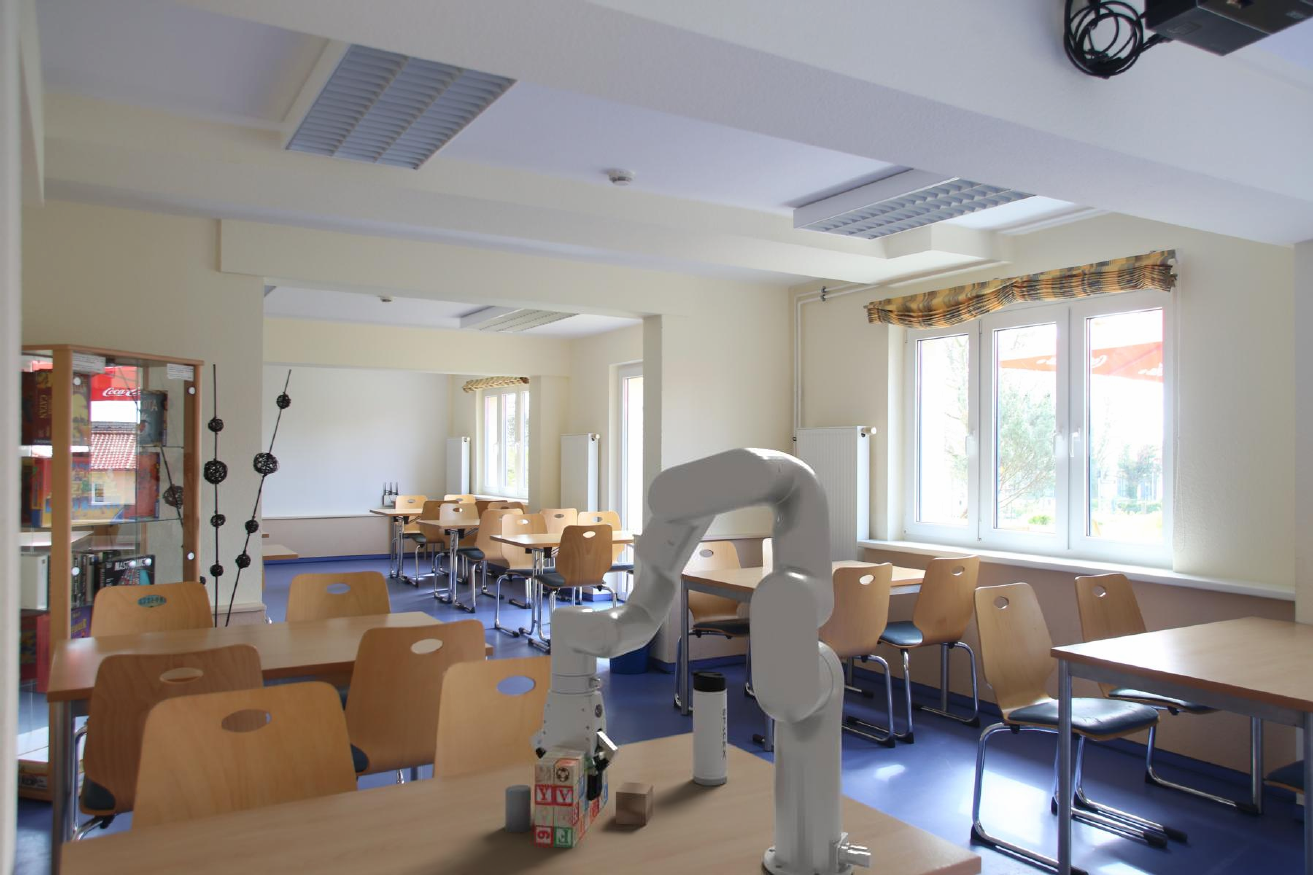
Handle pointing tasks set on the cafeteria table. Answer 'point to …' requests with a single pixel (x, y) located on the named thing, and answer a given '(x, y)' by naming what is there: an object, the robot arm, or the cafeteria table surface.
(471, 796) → the cafeteria table surface
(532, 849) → the cafeteria table surface
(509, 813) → the dark grey cylinder
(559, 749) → the stack of blocks
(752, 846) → the cafeteria table surface
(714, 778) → the travel mug
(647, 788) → the walnut cube
